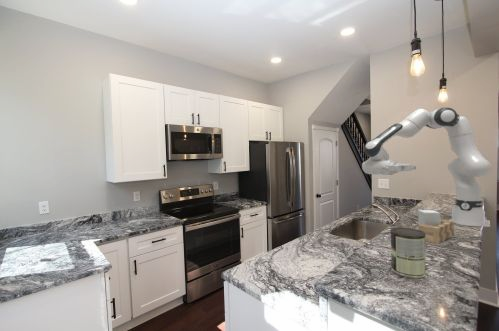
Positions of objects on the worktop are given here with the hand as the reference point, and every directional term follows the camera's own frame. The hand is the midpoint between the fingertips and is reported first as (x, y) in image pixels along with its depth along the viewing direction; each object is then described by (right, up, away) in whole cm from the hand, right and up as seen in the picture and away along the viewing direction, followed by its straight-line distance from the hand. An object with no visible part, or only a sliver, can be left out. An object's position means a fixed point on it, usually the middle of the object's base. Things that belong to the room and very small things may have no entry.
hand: (414, 167), depth 140 cm
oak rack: (0, -34, -16) cm, 38 cm away
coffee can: (-37, -36, -53) cm, 74 cm away
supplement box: (-2, -35, -14) cm, 37 cm away
